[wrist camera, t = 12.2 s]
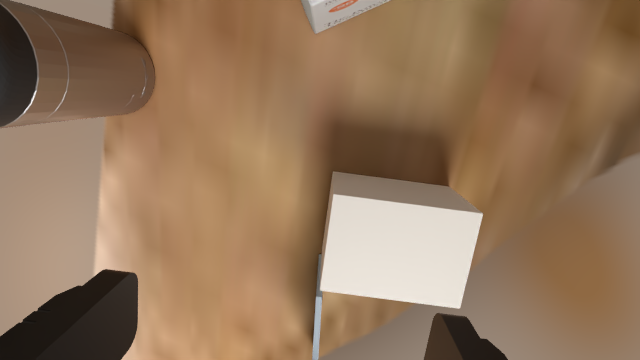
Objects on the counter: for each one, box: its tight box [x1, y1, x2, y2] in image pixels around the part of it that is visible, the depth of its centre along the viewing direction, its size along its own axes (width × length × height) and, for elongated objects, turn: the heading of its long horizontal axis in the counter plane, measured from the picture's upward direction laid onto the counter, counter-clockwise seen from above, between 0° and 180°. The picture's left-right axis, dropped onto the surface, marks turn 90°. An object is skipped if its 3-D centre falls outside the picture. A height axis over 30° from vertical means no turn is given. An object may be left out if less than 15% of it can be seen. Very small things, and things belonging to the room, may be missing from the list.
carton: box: [320, 171, 483, 308], centre depth 40 cm, size 14×10×10 cm
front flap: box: [312, 254, 322, 360], centre depth 40 cm, size 14×1×16 cm, turn 177°
